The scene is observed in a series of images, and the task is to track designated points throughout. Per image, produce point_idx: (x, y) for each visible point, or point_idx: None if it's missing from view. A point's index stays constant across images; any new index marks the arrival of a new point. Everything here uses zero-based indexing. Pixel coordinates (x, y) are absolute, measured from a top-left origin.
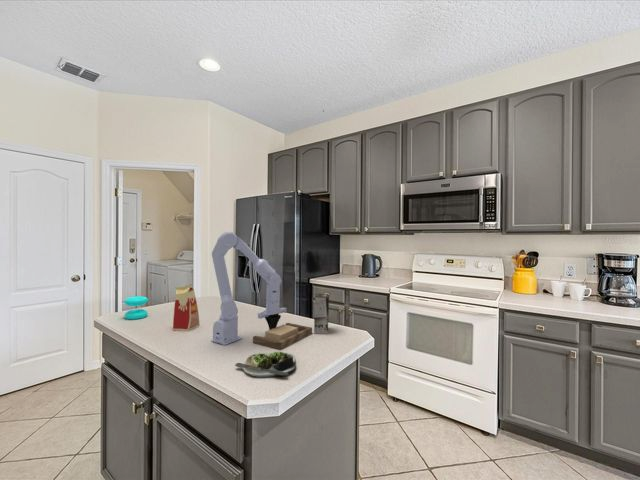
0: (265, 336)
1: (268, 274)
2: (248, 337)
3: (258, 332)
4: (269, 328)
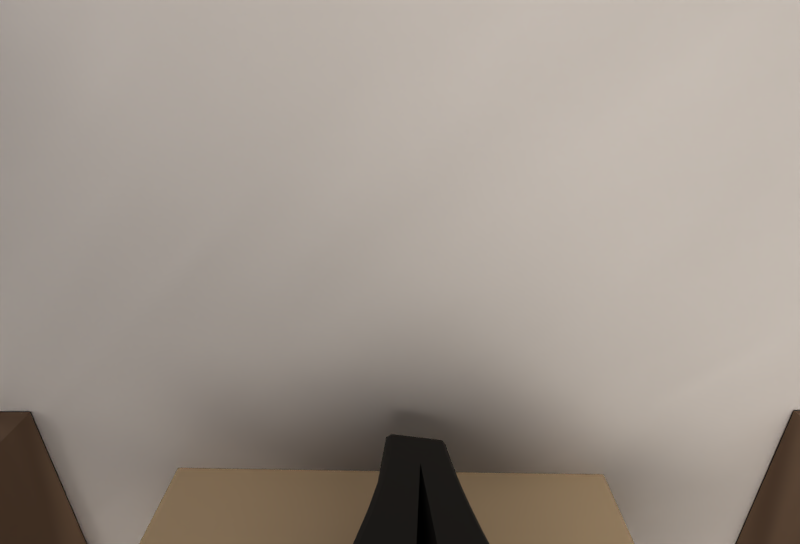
0: (154, 521)
1: None
2: (45, 191)
3: (381, 146)
4: (377, 485)
